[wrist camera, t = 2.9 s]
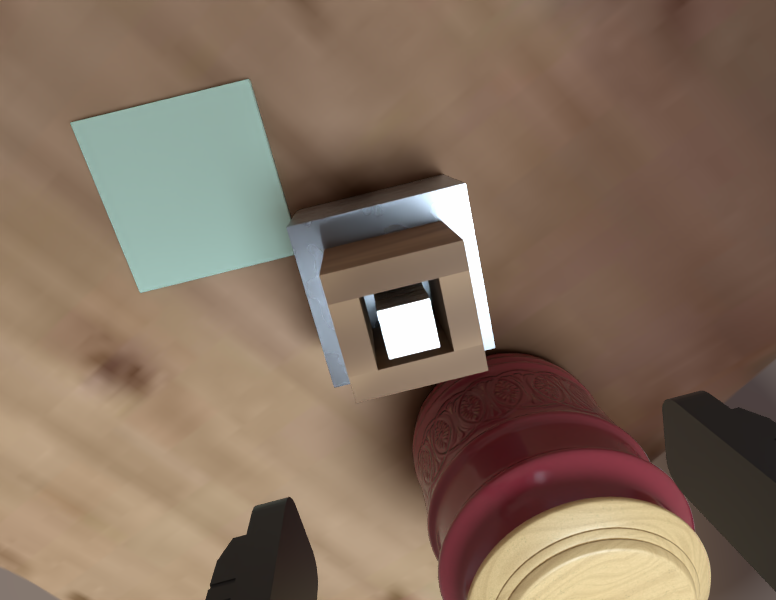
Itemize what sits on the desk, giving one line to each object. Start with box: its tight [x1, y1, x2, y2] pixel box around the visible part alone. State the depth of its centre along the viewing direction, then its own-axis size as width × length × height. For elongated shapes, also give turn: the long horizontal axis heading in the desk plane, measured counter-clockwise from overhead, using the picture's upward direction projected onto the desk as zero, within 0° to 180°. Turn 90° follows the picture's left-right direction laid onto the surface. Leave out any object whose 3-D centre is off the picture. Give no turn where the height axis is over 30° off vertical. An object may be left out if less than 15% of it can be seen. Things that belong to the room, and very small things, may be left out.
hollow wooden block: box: [319, 220, 488, 403], centre depth 24 cm, size 6×6×5 cm
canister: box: [413, 353, 711, 600], centre depth 28 cm, size 13×13×18 cm
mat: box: [70, 79, 294, 293], centre depth 29 cm, size 10×10×1 cm
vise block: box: [286, 174, 495, 388], centre depth 26 cm, size 9×9×12 cm
